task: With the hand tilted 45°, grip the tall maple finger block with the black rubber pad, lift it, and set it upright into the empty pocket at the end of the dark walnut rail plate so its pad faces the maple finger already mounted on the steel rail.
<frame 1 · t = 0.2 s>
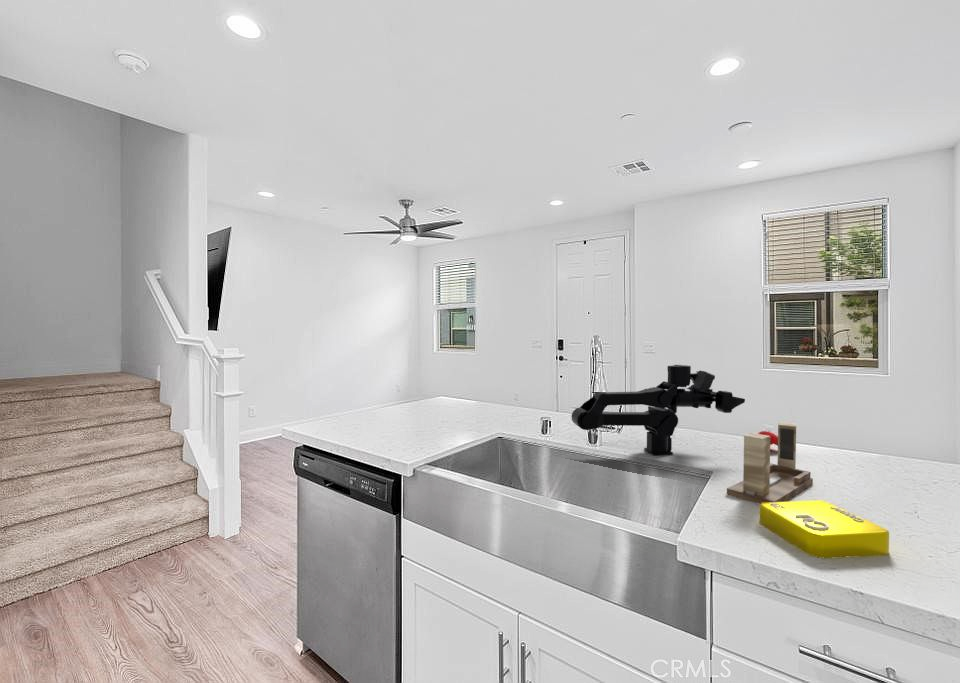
hand: (734, 398, 143), 17 cm above the worktop, tool horizontal, fingers open, 9 cm apart
element tile: (819, 539, 85), on the worktop
cap: (769, 451, 143), on the worktop
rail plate: (770, 489, 109), on the worktop
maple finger: (786, 471, 122), on the worktop
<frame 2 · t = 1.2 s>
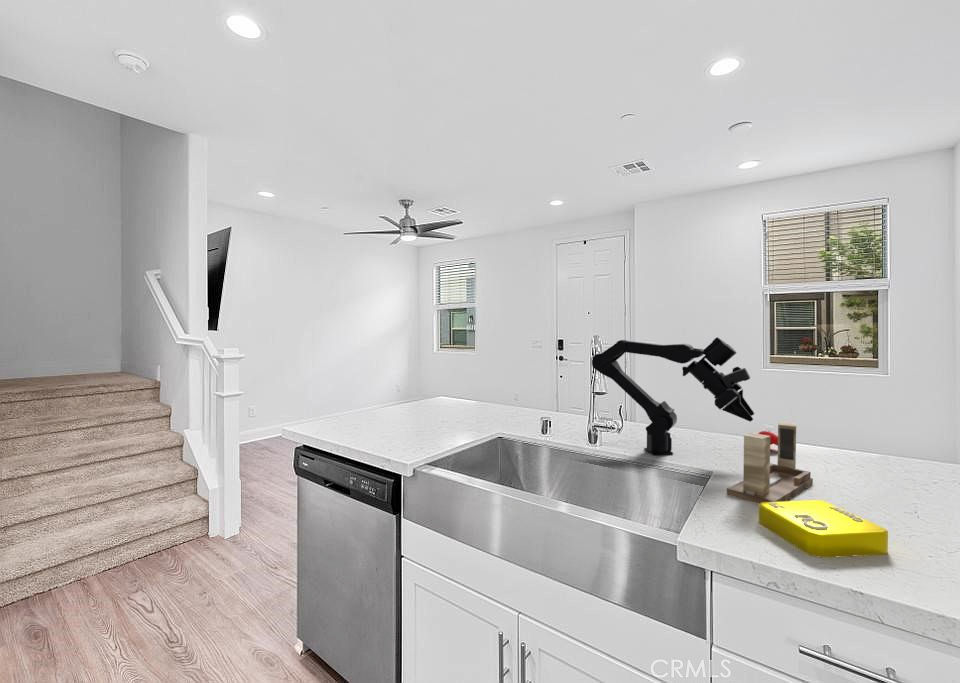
hand: (752, 417, 127), 14 cm above the worktop, tool tilted 45°, fingers open, 9 cm apart
nothing on the worktop moved.
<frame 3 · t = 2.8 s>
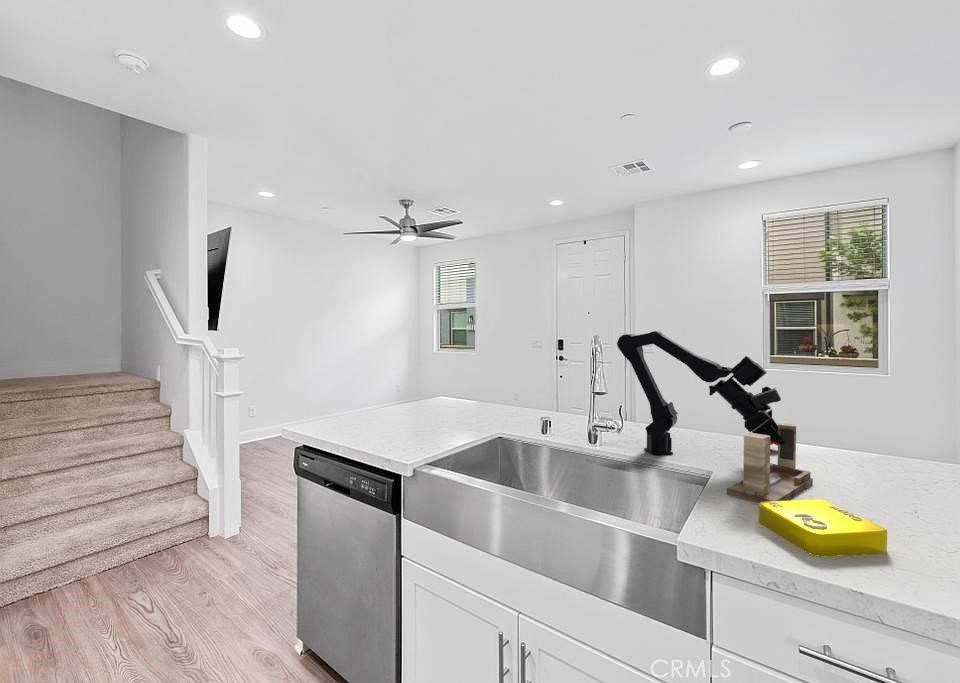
hand: (783, 440, 122), 9 cm above the worktop, tool tilted 45°, fingers open, 9 cm apart
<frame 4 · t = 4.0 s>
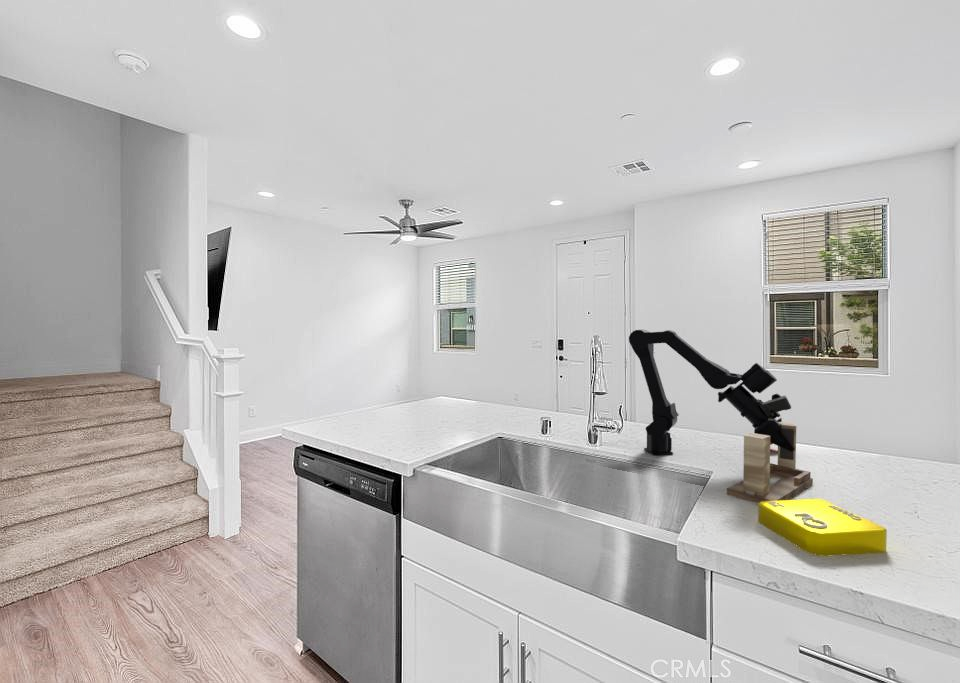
hand: (793, 448, 121), 7 cm above the worktop, tool tilted 45°, fingers closed on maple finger, 5 cm apart
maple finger: (786, 471, 122), on the worktop, touching gripper
everything else where it was.
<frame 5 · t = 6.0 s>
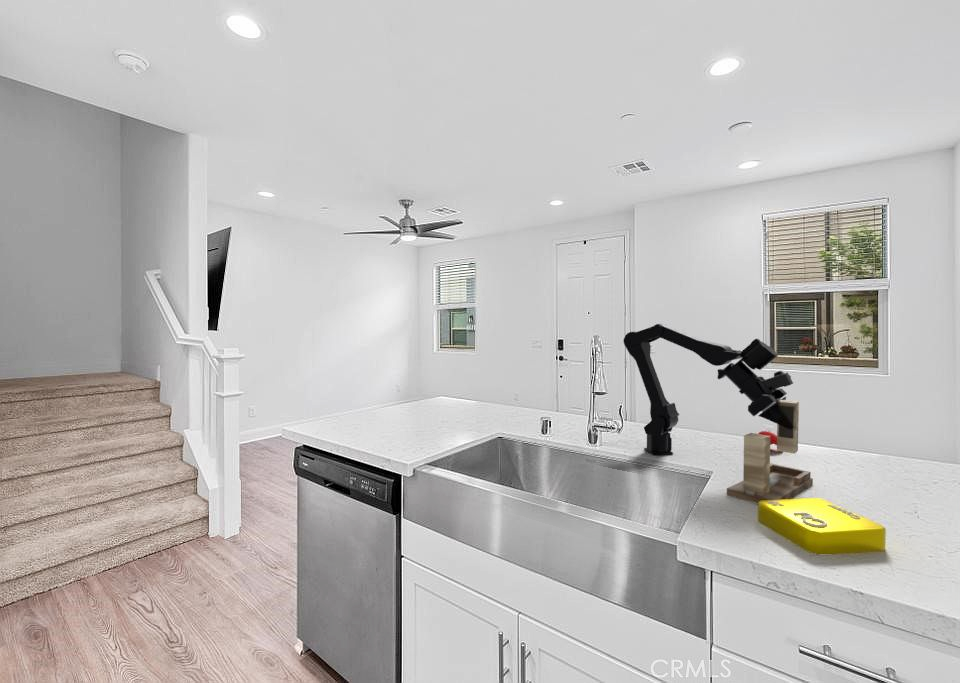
hand: (794, 426, 116), 14 cm above the worktop, tool tilted 45°, fingers closed on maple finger, 5 cm apart
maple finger: (787, 450, 118), point 7 cm above the worktop, touching gripper
when the fingers open (9 cm above the worktop, at t = 7.8 s): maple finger drops 1 cm, resting on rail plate.
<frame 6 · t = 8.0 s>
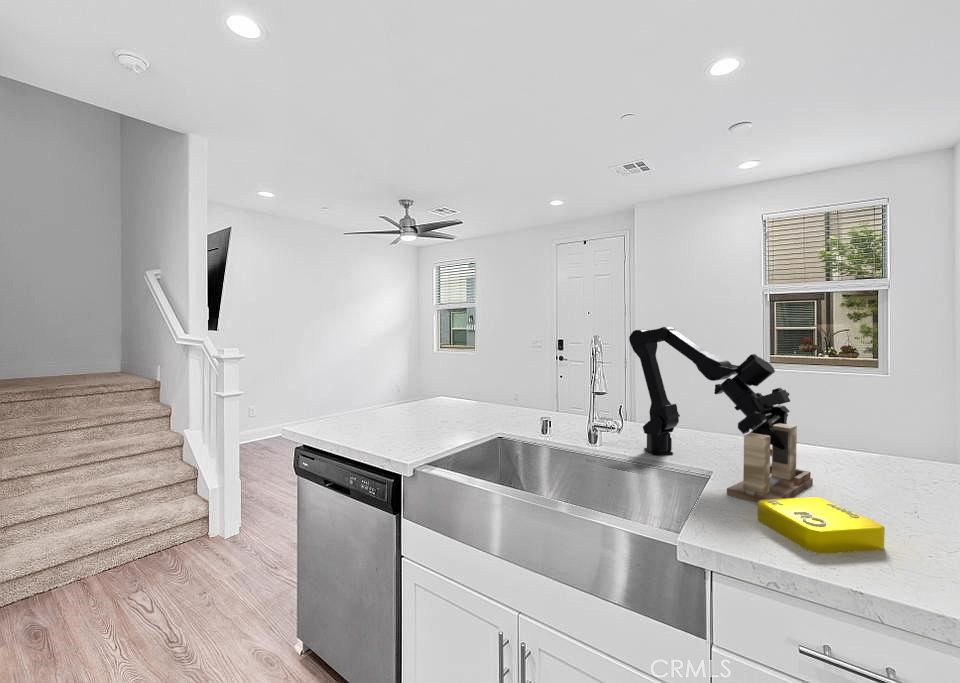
hand: (789, 446, 112), 10 cm above the worktop, tool tilted 45°, fingers open, 7 cm apart
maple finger: (783, 476, 114), point 2 cm above the worktop, touching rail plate
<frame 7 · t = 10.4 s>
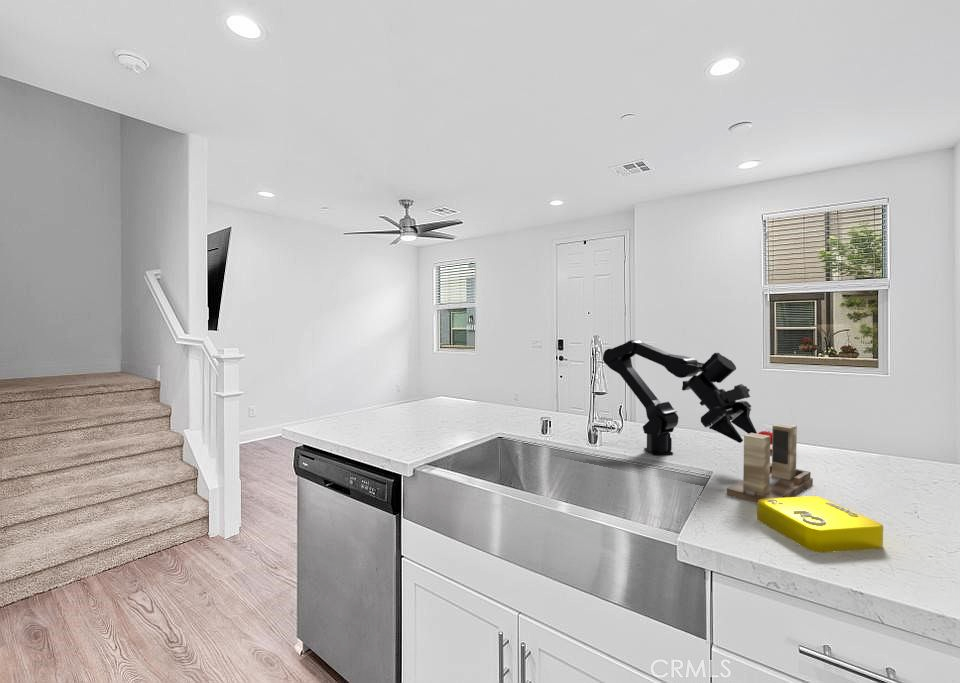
hand: (749, 439, 120), 10 cm above the worktop, tool tilted 45°, fingers open, 9 cm apart
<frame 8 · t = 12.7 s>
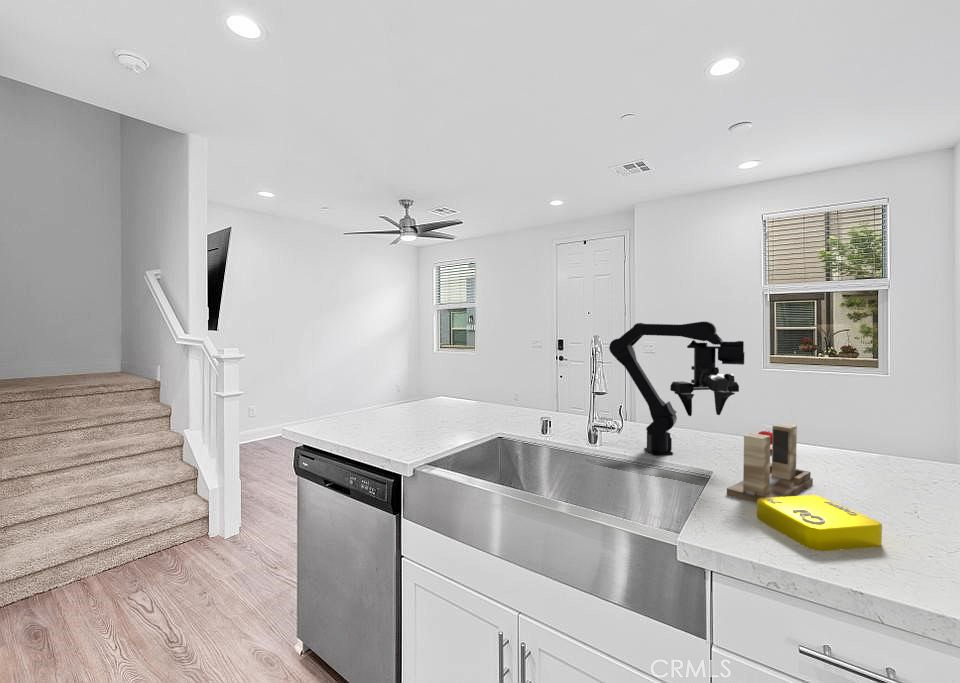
hand: (704, 415, 134), 13 cm above the worktop, tool pointing down, fingers open, 9 cm apart
at the end: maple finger 0.5 cm from the target spot on the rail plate, point 1.5 cm above the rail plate's base; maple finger tilted 0°; the gripper is holding nothing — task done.
